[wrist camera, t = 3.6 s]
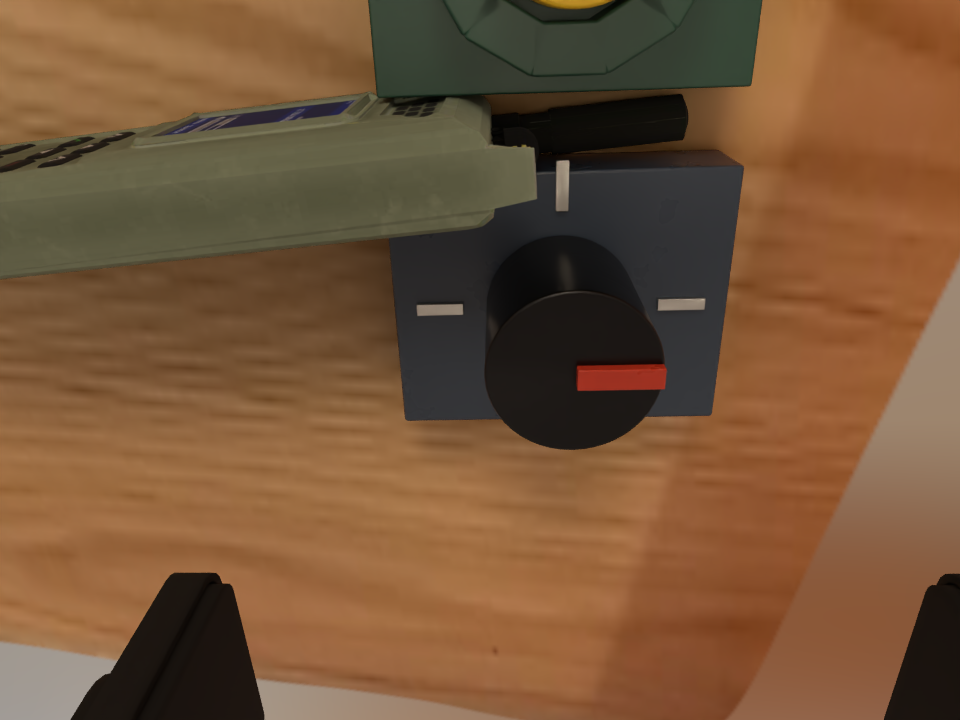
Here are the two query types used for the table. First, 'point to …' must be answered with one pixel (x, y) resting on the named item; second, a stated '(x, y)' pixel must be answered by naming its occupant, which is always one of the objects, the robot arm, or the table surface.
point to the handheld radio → (291, 176)
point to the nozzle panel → (593, 216)
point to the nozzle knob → (569, 345)
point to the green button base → (560, 46)
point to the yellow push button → (572, 3)
